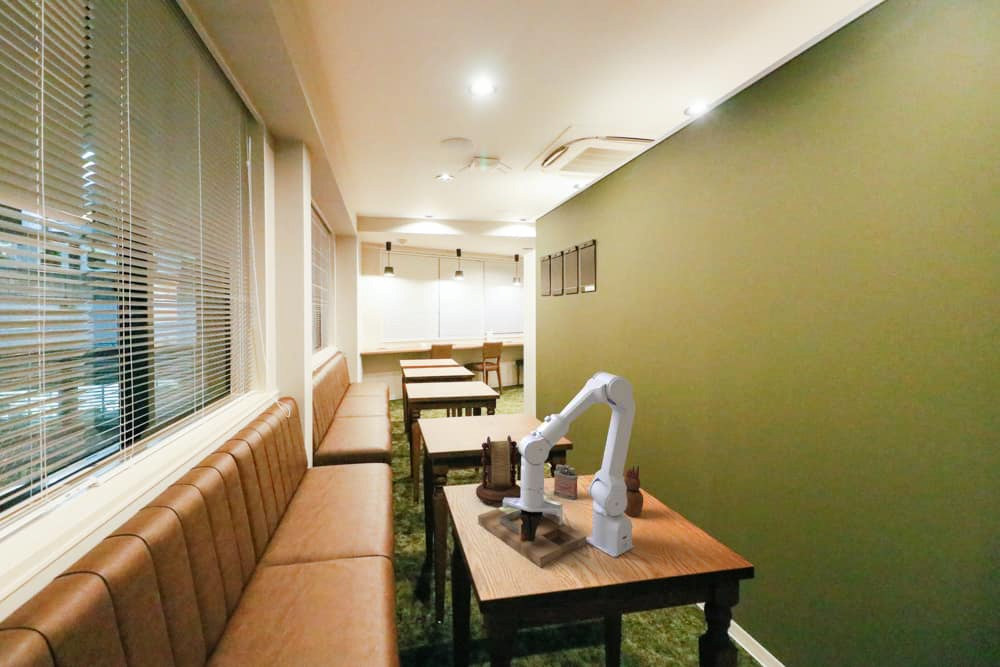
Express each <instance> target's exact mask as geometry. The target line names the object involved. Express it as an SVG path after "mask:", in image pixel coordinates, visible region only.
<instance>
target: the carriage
mask: <svg viewBox="0 0 1000 667" xmlns="http://www.w3.org/2000/svg"><path fill="white" fill-rule="evenodd" d="M517 517H520V510H517V511H514V512H512V513H509V514H506V515H503V516H501V517H499V522H500V523H501V524H503V525H504V526H506V527H507V528H509V529H510V530H512V531H513V532H515V533H516V534H518V535H519V539H521V540H522V539H524V538H527V533H526V529H525V527H524V524H523V522H519V523H517V524H514V523H513V522H511V521H510V520H512V519H515V518H517ZM541 521H544V515H542V517H541V519H540V521H539V522H541Z"/></svg>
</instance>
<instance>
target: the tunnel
mask: <svg viewBox="0 0 1000 667" xmlns="http://www.w3.org/2000/svg"><path fill="white" fill-rule="evenodd" d="M544 501H547V502H550V503H553V504H556V505H562V513H563V512H564V511H563V508H564V505H563V503H562V502H561V501H558V500H557V499H554V498H552V497H550V496H549V495H546V494H544ZM517 510H520V509H514V508H507V509H505V508H503V506H500V507H498V508H496V509H492V510H490V511H486V512H484V513H481V514H478V515H477V525H479V526H480V527H482V528H484V529H485V530H486V531H487V532H489V533H490V534H491V535H493V536H494V537H496V538H497V539H499V540H500V541H501V542H503V543H504V544H505V545H507V546H509V547H510V548H511V549H513V550H514V551H516V552H517V553H518V554H520V555H521V556H522V557H524V558H525V559H527V560H528V561H529V562H531V563H533V564H534V565H536V567H538V568H539V569H541V568H543V567H545V566H547V565H549V564H551V563H553V562H555V561H557V560H559V559H561V558H563V557H565V556H567V555H570V554H572V553H573V552H576V551H577V550H579V549H582V548H584V547H586V546H587V542H586V539H587V535H586V534H584V533H582V532H580V531H578V530H576V529H575V528H573V527H571V526H569V525H568V524H565V523H564V522H563V514H562V515H561V517H559V516H556V515H554V514H548V513H543V515H544V521H541V522H539V523H538V526H537V530H536V534H535V539H534V542H531V541H528V537H527V538H524V539H522V540H521V539H519V535H518V534H516V533H515V532H513V531H512V530H510V529H509V528H507V527H506V526H504V525H503V524H501V523H500V522H499V517H501V516H503V515H506V514H509V513H512V512H514V511H517ZM510 521H511V522H513V523H514V524H517V523H519V522H522V520H521V519H520V517H517V518H515V519H512V520H510Z"/></svg>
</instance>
